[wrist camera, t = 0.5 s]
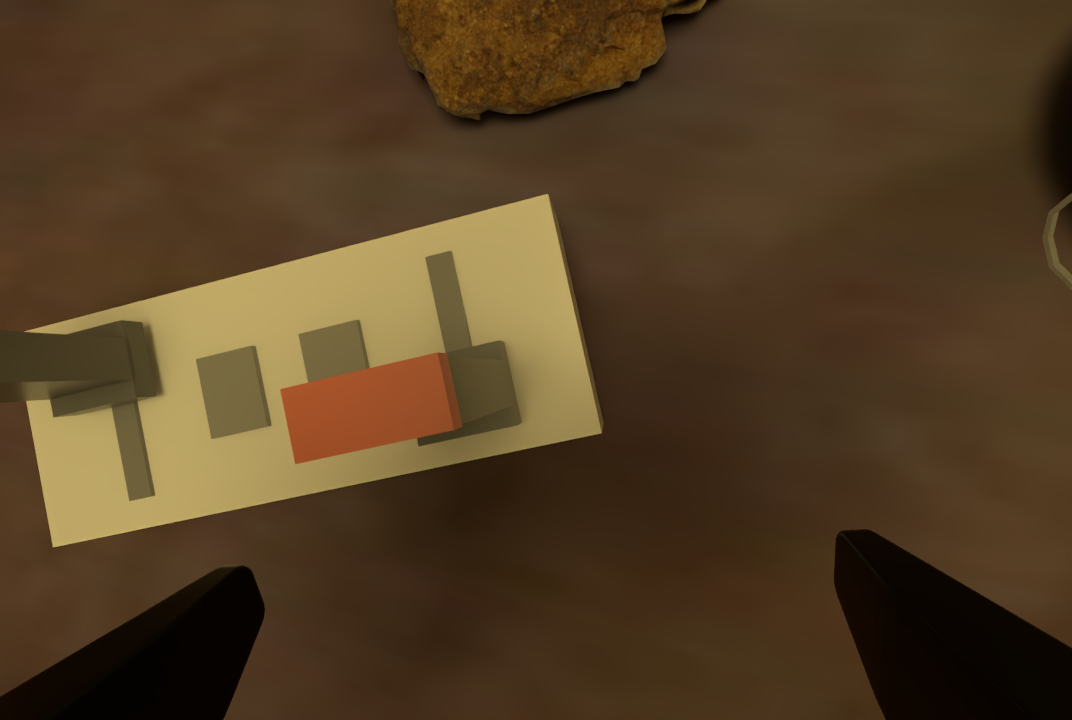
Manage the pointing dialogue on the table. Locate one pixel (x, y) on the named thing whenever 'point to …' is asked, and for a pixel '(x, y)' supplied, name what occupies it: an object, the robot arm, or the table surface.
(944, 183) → the table surface
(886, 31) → the table surface
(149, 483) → the cream lever base
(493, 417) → the switch
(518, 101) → the decorative rock
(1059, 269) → the coffee pot
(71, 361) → the switch
